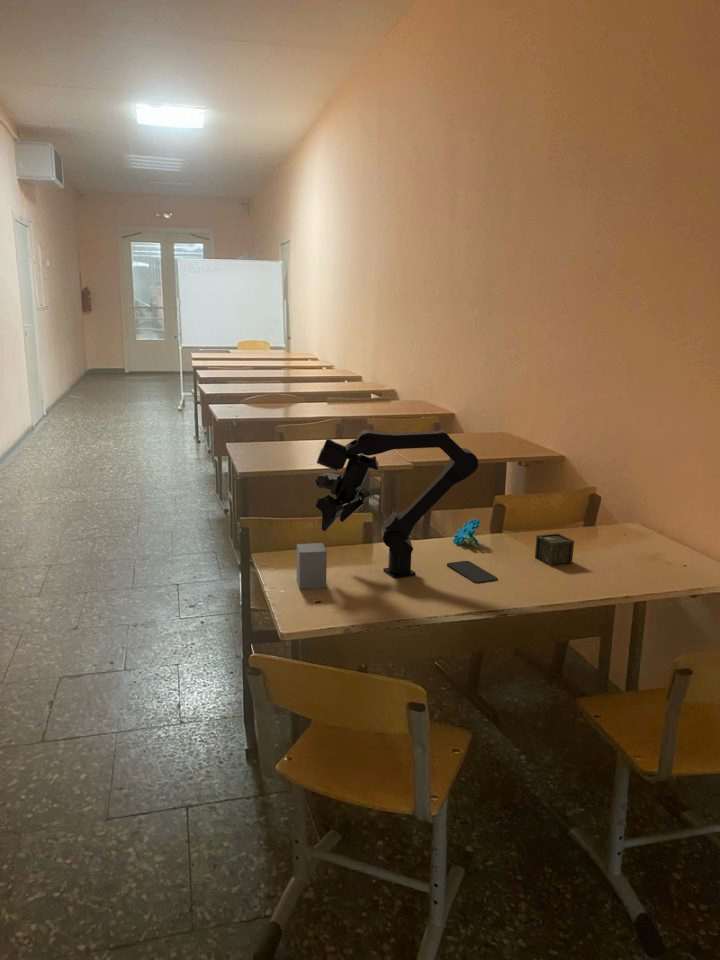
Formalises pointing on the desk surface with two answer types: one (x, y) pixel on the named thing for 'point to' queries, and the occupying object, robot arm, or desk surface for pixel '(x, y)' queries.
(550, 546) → the wooden crate
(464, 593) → the desk surface
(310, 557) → the grey rectangular block
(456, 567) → the phone
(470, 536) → the blue green lobed piece
